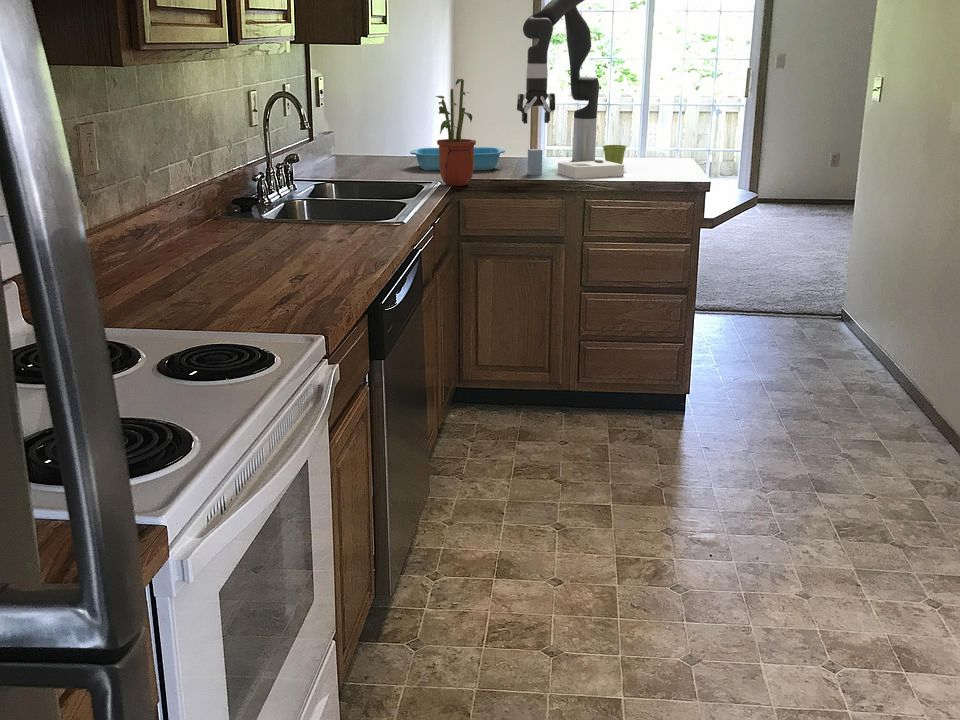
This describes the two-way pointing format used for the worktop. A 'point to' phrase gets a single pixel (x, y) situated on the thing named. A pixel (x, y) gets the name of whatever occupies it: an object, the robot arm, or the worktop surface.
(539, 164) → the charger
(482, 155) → the casserole dish
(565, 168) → the outlet plate
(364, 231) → the worktop surface
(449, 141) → the potted plant
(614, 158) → the plant pot
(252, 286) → the worktop surface
